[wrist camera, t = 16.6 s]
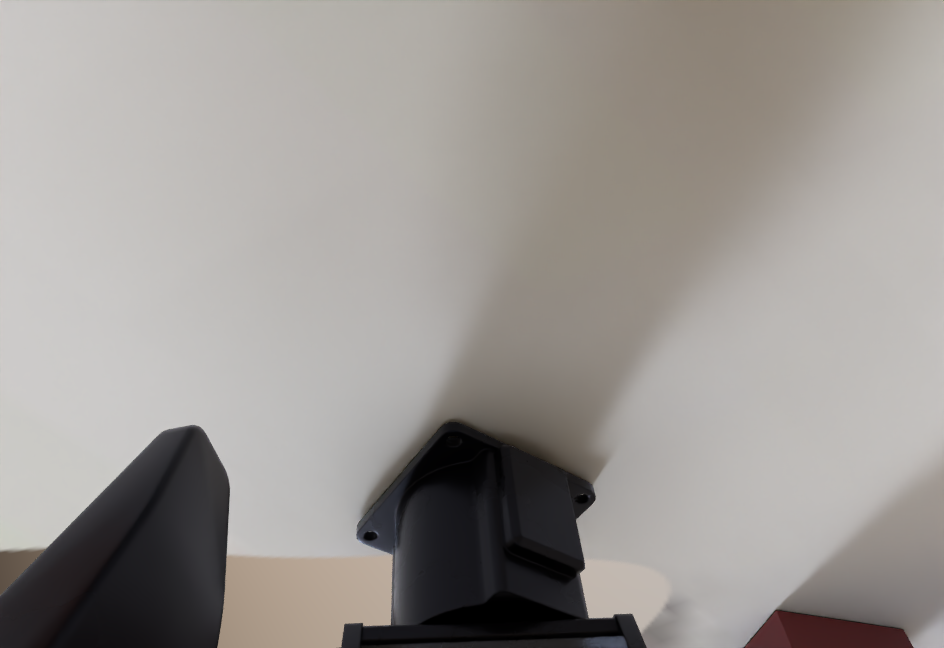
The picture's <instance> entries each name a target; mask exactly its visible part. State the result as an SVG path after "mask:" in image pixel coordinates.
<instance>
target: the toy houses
mask: <svg viewBox="0 0 944 648" xmlns="http://www.w3.org/2000/svg"><path fill="white" fill-rule="evenodd" d="M745 648H913V646H912V644H911V643H910V641H909V639H908V637H907V635H906V634H905V632H904V630H903V629H896V628H890V627H883V626H876V625H870V624H863V623H857V622H850V621H843V620H837V619H830V618H824V617H817V616H810V615H804V614H797V613H791V612H784V611H777V610H776V611H775V612H774V613H773V615H772V616H771V617H770V618H769V619H768V621H767V622H766V623H765V624H764V625H763V626H762V628H761V629H760V630H759V631H758V632H757V634H756V635H755V636H754V637H753V638H752V639H751V641H750V642H749V643H748V644H747V645H746V647H745Z"/></svg>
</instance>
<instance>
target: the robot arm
mask: <svg viewBox="0 0 944 648" xmlns="http://www.w3.org/2000/svg"><path fill="white" fill-rule="evenodd" d="M450 436H458V437H457V438H454V439H452V438H448V437H450ZM580 494H583V495H580ZM229 497H230V486H229V480H228V476H227V473H226V470H225V468H224V466H223V465H222V463H221V461H220V459H219V457H218V455H217V453H216V452H215V450H214V448H213V446H212V444H211V442H210V440H209V438H208V437H207V435H206V433H205V432H204V430H203V429H202V428H201V427H199V426H196V425H190V426H184V427H179V428H173V429H168V430H165V431H163V432H162V433H161V434H159V435H158V436H157V437H156V438H155V439H154V440H153V441H152V442H151V443H150V444H149V445H148V446H147V447H146V448H145V449H144V450H143V451H142V452H141V453H140V454H139V455H138V456H137V457H136V458H135V459H134V460H133V462H132V463H131V464H130V465H129V466H128V467H127V468H126V469H125V470H124V471H123V472H122V473H121V474H120V475H119V476H118V477H117V478H116V479H115V480H114V481H113V482H112V483H111V484H110V485H109V486H108V487H107V488H106V489H105V490H104V491H103V492H102V493H101V494H100V495H99V496H98V497H97V498H96V499H95V500H94V501H93V502H92V503H91V504H90V505H89V506H88V507H87V508H86V509H85V510H84V511H83V512H82V513H81V514H80V515H79V516H78V517H77V518H76V519H75V520H74V521H73V522H72V523H71V524H70V525H69V526H68V527H67V528H66V529H65V530H64V531H63V532H62V533H61V534H60V535H59V537H58V538H57V539H56V540H55V541H54V542H53V543H52V544H51V545H50V546H49V547H48V548H47V549H46V550H45V551H44V552H43V553H42V554H41V555H40V556H39V557H38V558H37V559H36V560H35V561H34V562H33V563H32V564H31V565H30V566H29V567H28V568H27V569H26V570H25V571H24V572H23V573H22V574H21V575H20V576H19V577H18V578H17V579H16V580H15V581H14V582H13V583H12V584H11V585H10V586H9V587H8V588H7V589H6V590H5V591H4V592H3V593H2V594H1V595H0V648H217V646H218V640H219V634H220V628H221V620H222V613H223V604H224V592H225V575H226V574H225V573H226V555H227V536H228V516H229ZM595 497H596V496H595V492H594V488H593V486H592V484H590V483H589V482H587V481H585V480H583V479H580V478H578V477H576V476H574V475H572V474H570V473H567V472H565V471H564V470H562V469H560V468H558V467H556V466H554V465H552V464H549V463H547V462H545V461H543V460H541V459H539V458H536V457H534V456H532V455H530V454H528V453H526V452H523V451H521V450H519V449H517V448H515V447H513V446H509V445H507V444H504V443H502V442H500V441H498V440H496V439H494V438H491V437H489V436H487V435H485V434H483V433H481V432H478V431H476V430H474V429H472V428H470V427H468V426H465V425H463V424H461V423H457V422H450V423H447V424H444V425H443V426H442V427H440V429H439V430H438V431H437V432H436V433H435V434H434V436H433V437H432V438H431V439H430V440H429V441H428V443H427V444H426V445H425V446H424V447H423V448H422V450H421V451H420V452H419V453H418V454H417V455H416V457H415V458H414V459H413V460H412V461H411V462H410V464H409V465H408V466H407V467H406V468H405V469H404V471H403V472H402V473H401V474H400V475H399V476H398V478H397V479H396V480H395V481H394V482H393V483H392V485H391V486H390V487H389V488H388V489H387V490H386V492H385V493H384V494H383V495H382V496H381V497H380V499H379V500H378V501H377V502H376V503H375V504H374V506H373V507H372V508H371V509H370V510H369V511H368V513H367V514H366V515H365V516H364V517H363V518H362V520H361V521H360V522H359V523H358V525H357V539H358V540H359V541H360V542H361V543H363V544H366V545H368V546H371V547H374V548H376V549H379V550H382V551H384V552H387V553H390V554H392V555H393V569H392V570H393V571H392V610H391V612H392V613H391V625H385V626H363V623H354V624H345V625H344V632H343V640H342V647H341V648H646V645H645V643H644V640H643V638H642V636H641V633H640V631H639V629H638V626H637V624H636V622H635V619H634V617H633V615H632V614H615V615H614V616H613V618H588V613H587V608H586V603H585V598H584V593H583V588H582V583H581V578H580V573H581V572H582V571H583V570H584V569H585V563H584V557H583V552H582V548H581V543H580V538H579V533H578V529H577V524H576V519H577V518H578V517H579V516H580V515H581V514H582V513H583V512H584V511H585V510H586V509H588V508H589V507H590V506H591V505H592V504H593V502H594V501H595ZM368 531H372V532H368Z"/></svg>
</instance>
